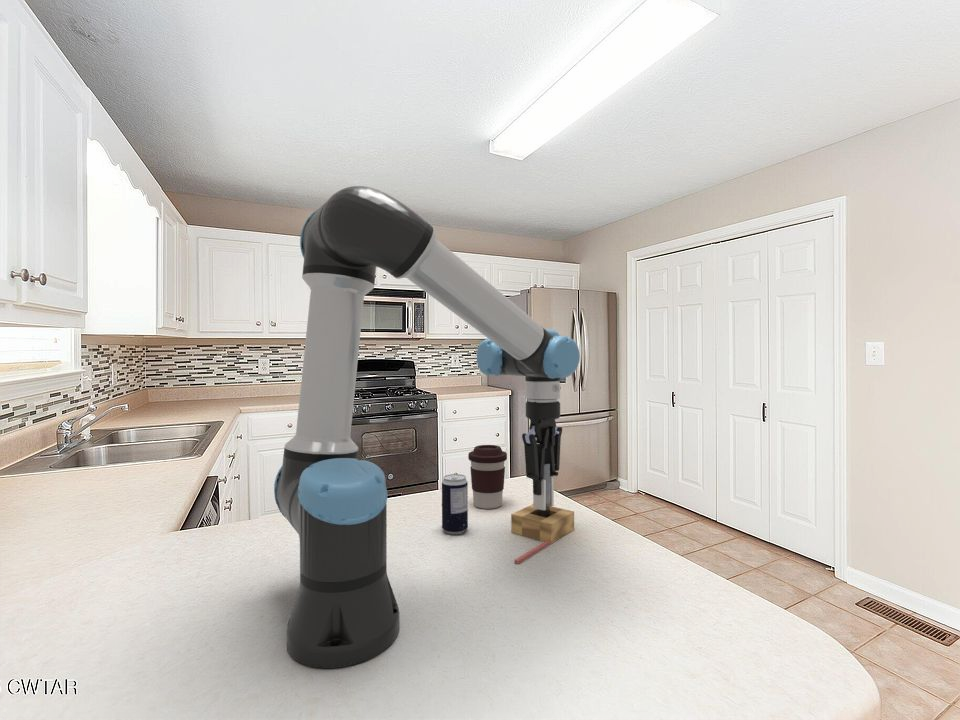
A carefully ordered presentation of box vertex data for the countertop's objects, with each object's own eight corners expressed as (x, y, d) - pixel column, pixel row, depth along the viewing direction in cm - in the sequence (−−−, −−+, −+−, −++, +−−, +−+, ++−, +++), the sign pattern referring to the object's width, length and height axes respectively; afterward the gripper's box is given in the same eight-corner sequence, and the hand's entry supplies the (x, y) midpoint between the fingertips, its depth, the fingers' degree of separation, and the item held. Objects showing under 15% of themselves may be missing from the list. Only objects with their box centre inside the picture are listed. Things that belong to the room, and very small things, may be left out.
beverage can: (469, 526, 107) (469, 473, 107) (466, 536, 101) (465, 480, 101) (444, 525, 107) (444, 473, 107) (439, 535, 102) (439, 480, 102)
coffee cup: (462, 502, 124) (462, 445, 124) (496, 497, 129) (496, 442, 128) (478, 513, 115) (478, 452, 115) (514, 507, 120) (513, 448, 119)
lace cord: (518, 564, 88) (518, 561, 88) (514, 563, 88) (514, 559, 88) (550, 543, 97) (550, 540, 97) (547, 542, 98) (547, 539, 98)
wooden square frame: (551, 543, 97) (551, 524, 97) (511, 532, 103) (511, 514, 103) (574, 529, 105) (574, 511, 105) (535, 519, 111) (535, 502, 111)
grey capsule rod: (545, 534, 102) (545, 465, 102) (534, 531, 104) (534, 463, 104) (552, 530, 104) (552, 463, 104) (541, 527, 106) (541, 461, 106)
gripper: (538, 404, 95) (539, 520, 96) (575, 398, 107) (575, 501, 108) (508, 402, 100) (509, 513, 100) (546, 396, 112) (547, 495, 113)
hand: (543, 506), depth 104 cm, fingers closed on grey capsule rod, 3 cm apart
